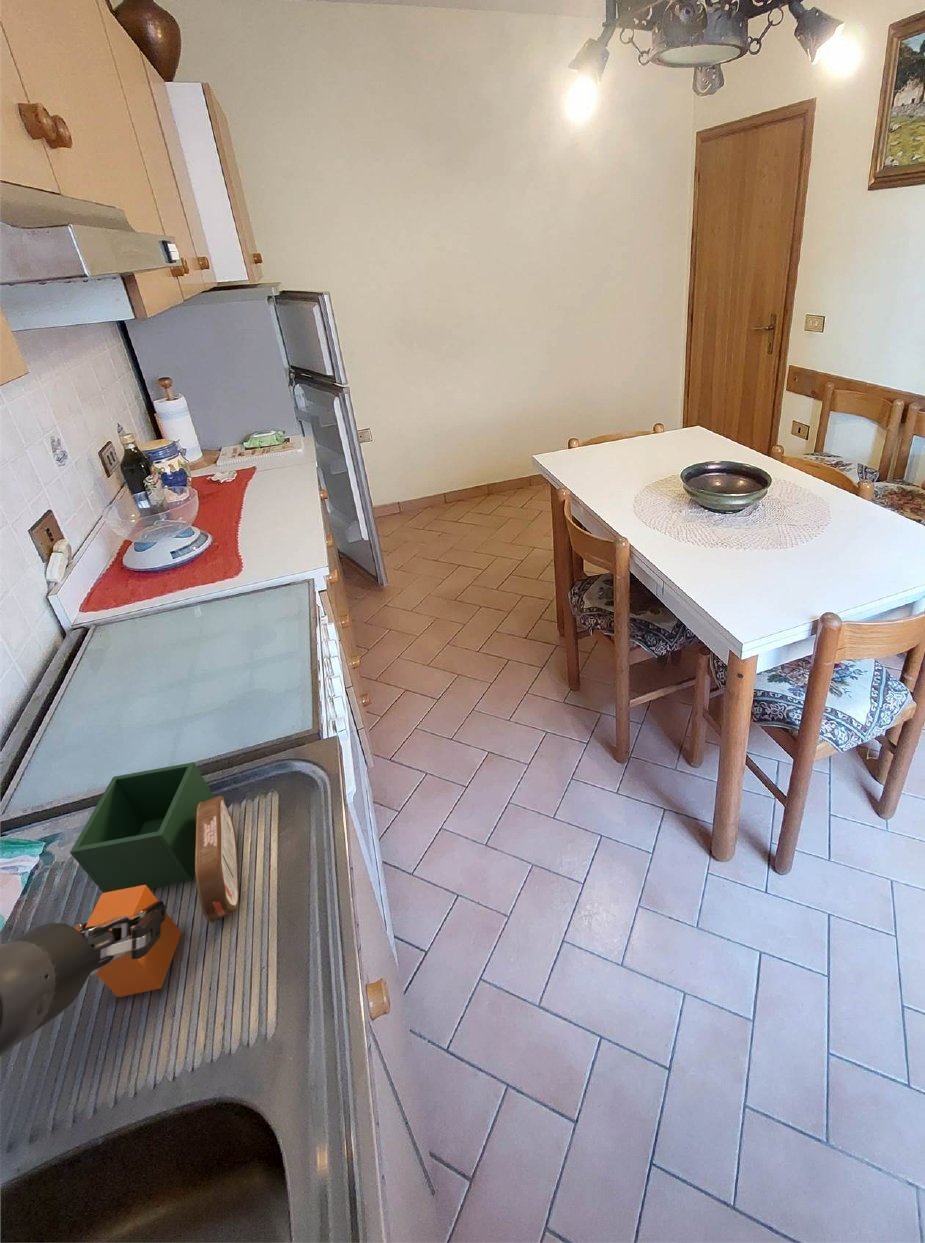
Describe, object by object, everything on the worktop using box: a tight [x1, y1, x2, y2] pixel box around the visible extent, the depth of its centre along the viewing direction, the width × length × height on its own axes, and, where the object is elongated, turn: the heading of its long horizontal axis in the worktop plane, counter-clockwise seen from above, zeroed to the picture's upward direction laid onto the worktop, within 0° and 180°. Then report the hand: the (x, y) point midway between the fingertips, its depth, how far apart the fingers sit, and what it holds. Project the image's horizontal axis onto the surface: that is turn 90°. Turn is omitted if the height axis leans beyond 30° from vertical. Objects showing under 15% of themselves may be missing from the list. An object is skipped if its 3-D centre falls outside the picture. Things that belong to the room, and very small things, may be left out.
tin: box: [194, 795, 239, 924], centre depth 71 cm, size 15×3×8 cm, turn 27°
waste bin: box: [69, 761, 215, 893], centre depth 75 cm, size 10×10×10 cm
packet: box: [85, 885, 182, 998], centre depth 63 cm, size 4×6×10 cm
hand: (135, 916), depth 64 cm, fingers closed on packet, 4 cm apart
